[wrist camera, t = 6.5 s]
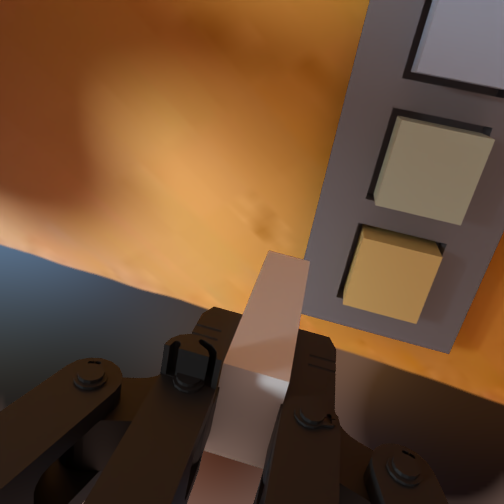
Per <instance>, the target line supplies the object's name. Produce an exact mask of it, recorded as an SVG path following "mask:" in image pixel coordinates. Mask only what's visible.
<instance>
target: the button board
mask: <svg viewBox="0 0 504 504" xmlns="http://www.w3.org/2000/svg"><path fill="white" fill-rule="evenodd" d="M431 4H432V0H370V2H369V6H368V10H367V14H366V18H365V21H364V25H363V29H362V33H361V37H360V41H359V45H358V49H357V53H356V57H355V61H354V65H353V69H352V72H351V76H350V80H349V84H348V88H347V92H346V96H345V100H344V104H343V108H342V112H341V116H340V120H339V123H338V127H337V131H336V135H335V139H334V143H333V147H332V151H331V155H330V159H329V163H328V167H327V171H326V175H325V178H324V182H323V186H322V190H321V194H320V198H319V202H318V206H317V210H316V214H315V218H314V222H313V226H312V229H311V233H310V237H309V241H308V245H307V249H306V253H305V257H304V260H307V261H310V265H309V270H308V276H307V282H306V288H305V294H304V300H303V305H302V311H301V314H304V315H308V316H312V317H315V318H319V319H323V320H326V321H330V322H334V323H337V324H341V325H344V326H348V327H352V328H355V329H359V330H363V331H366V332H370V333H374V334H377V335H381V336H385V337H388V338H392V339H396V340H399V341H403V342H407V343H410V344H414V345H418V346H421V347H425V348H429V349H432V350H436V351H440V352H443V353H447V354H449V353H450V350H451V348H452V346H453V344H454V342H455V339H456V337H457V335H458V333H459V330H460V328H461V326H462V324H463V321H464V319H465V317H466V315H467V312H468V310H469V308H470V306H471V303H472V301H473V299H474V297H475V294H476V292H477V290H478V288H479V286H480V283H481V281H482V279H483V277H484V274H485V272H486V270H487V268H488V265H489V263H490V261H491V259H492V256H493V254H494V252H495V250H496V247H497V245H498V243H499V241H500V238H501V236H502V234H503V232H504V90H501V89H495V88H490V87H485V86H480V85H474V84H469V83H464V82H459V81H454V80H449V79H444V78H439V77H434V76H429V75H424V74H419V73H414V72H411V69H412V66H413V63H414V59H415V56H416V53H417V49H418V46H419V43H420V40H421V36H422V33H423V30H424V27H425V23H426V20H427V17H428V13H429V10H430V7H431ZM397 115H398V116H403V117H407V118H412V119H417V120H422V121H427V122H431V123H436V124H441V125H446V126H450V127H455V128H460V129H465V130H469V131H474V132H479V133H482V134H484V135H487V136H489V137H491V138H493V139H495V141H494V144H493V146H492V149H491V151H490V154H489V156H488V159H487V161H486V164H485V166H484V169H483V171H482V174H481V176H480V179H479V181H478V184H477V186H476V189H475V191H474V194H473V196H472V199H471V201H470V204H469V206H468V209H467V211H466V214H465V216H464V219H463V221H462V224H461V225H457V224H452V223H448V222H444V221H440V220H436V219H431V218H427V217H423V216H419V215H414V214H410V213H406V212H402V211H398V210H393V209H389V208H385V207H381V206H376V205H375V200H374V190H375V187H376V184H377V180H378V177H379V174H380V171H381V167H382V164H383V161H384V157H385V154H386V151H387V148H388V144H389V141H390V138H391V135H392V131H393V128H394V125H395V121H396V118H397ZM363 224H365V225H369V226H373V227H378V228H382V229H386V230H390V231H394V232H398V233H402V234H406V235H411V236H415V237H419V238H423V239H427V240H431V241H435V242H436V244H437V246H438V249H439V251H440V253H441V255H442V257H443V258H442V261H441V263H440V266H439V268H438V271H437V273H436V276H435V278H434V281H433V283H432V286H431V288H430V291H429V293H428V296H427V298H426V301H425V304H424V306H423V309H422V311H421V314H420V316H419V319H418V321H417V324H414V323H410V322H407V321H403V320H399V319H395V318H392V317H388V316H384V315H380V314H377V313H373V312H369V311H365V310H362V309H358V308H354V307H351V306H347V305H343V292H344V284H345V280H346V277H347V274H348V271H349V267H350V264H351V261H352V257H353V254H354V251H355V248H356V244H357V241H358V238H359V234H360V231H361V228H362V225H363Z"/></svg>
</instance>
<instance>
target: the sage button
mask: <svg viewBox="0 0 504 504" xmlns="http://www.w3.org/2000/svg"><path fill="white" fill-rule="evenodd" d="M494 141H495V139H493V138H491V137H489V136H487V135H484V134H482V133H479V132H474V131H469V130H465V129H460V128H455V127H450V126H446V125H441V124H436V123H431V122H427V121H422V120H417V119H412V118H407V117H403V116H398V115H397V118H396V121H395V125H394V128H393V131H392V135H391V138H390V141H389V144H388V148H387V151H386V154H385V157H384V161H383V164H382V167H381V171H380V174H379V177H378V180H377V184H376V187H375V190H374V200H375V205H376V206H381V207H385V208H389V209H393V210H398V211H402V212H406V213H410V214H414V215H419V216H423V217H427V218H431V219H436V220H440V221H444V222H448V223H452V224H457V225H461V224H462V221H463V219H464V216H465V214H466V211H467V209H468V206H469V204H470V201H471V199H472V196H473V194H474V191H475V189H476V186H477V184H478V181H479V179H480V176H481V174H482V171H483V169H484V166H485V164H486V161H487V159H488V156H489V154H490V151H491V149H492V146H493V144H494Z"/></svg>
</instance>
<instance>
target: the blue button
mask: <svg viewBox="0 0 504 504" xmlns="http://www.w3.org/2000/svg"><path fill="white" fill-rule="evenodd" d="M411 72H414V73H419V74H424V75H429V76H434V77H439V78H444V79H449V80H454V81H459V82H464V83H469V84H474V85H480V86H485V87H490V88H495V89H501V90H504V0H432V4H431V7H430V10H429V13H428V17H427V20H426V23H425V27H424V30H423V33H422V36H421V40H420V43H419V46H418V49H417V53H416V56H415V59H414V63H413V66H412V69H411Z"/></svg>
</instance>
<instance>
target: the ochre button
mask: <svg viewBox="0 0 504 504" xmlns="http://www.w3.org/2000/svg"><path fill="white" fill-rule="evenodd" d="M442 258H443V257H442V255H441V253H440V251H439V249H438V246H437V244H436V242H435V241H431V240H427V239H423V238H419V237H415V236H411V235H406V234H402V233H398V232H394V231H390V230H386V229H382V228H378V227H373V226H369V225H365V224H363V225H362V228H361V231H360V234H359V238H358V241H357V244H356V248H355V251H354V254H353V257H352V261H351V264H350V267H349V271H348V274H347V277H346V280H345V284H344V292H343V305H347V306H351V307H354V308H358V309H362V310H365V311H369V312H373V313H377V314H380V315H384V316H388V317H392V318H395V319H399V320H403V321H407V322H410V323H414V324H417V321H418V319H419V316H420V314H421V311H422V309H423V306H424V304H425V301H426V298H427V296H428V293H429V291H430V288H431V286H432V283H433V281H434V278H435V276H436V273H437V271H438V268H439V266H440V263H441V261H442Z"/></svg>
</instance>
